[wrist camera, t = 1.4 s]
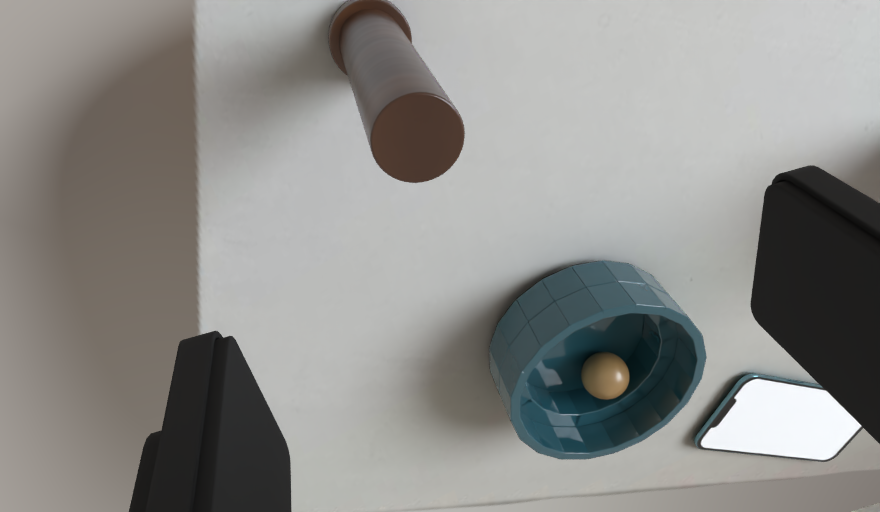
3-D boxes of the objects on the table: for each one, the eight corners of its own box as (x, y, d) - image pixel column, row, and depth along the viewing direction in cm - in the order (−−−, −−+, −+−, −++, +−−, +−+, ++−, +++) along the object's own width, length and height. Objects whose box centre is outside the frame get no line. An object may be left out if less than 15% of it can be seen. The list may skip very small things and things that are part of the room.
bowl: (488, 417, 43) (510, 477, 39) (484, 274, 37) (510, 328, 33) (651, 383, 45) (688, 436, 41) (675, 240, 38) (722, 287, 34)
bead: (572, 380, 42) (590, 413, 40) (574, 347, 41) (594, 379, 38) (614, 372, 43) (635, 404, 40) (618, 338, 41) (640, 369, 39)
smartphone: (885, 393, 52) (743, 369, 46) (890, 398, 52) (748, 373, 46) (826, 459, 56) (687, 444, 50) (830, 464, 55) (690, 449, 49)
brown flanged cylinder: (334, 82, 29) (364, 204, 19) (322, -1, 27) (348, 87, 17) (412, 73, 30) (479, 185, 20) (405, -10, 28) (476, 70, 18)
